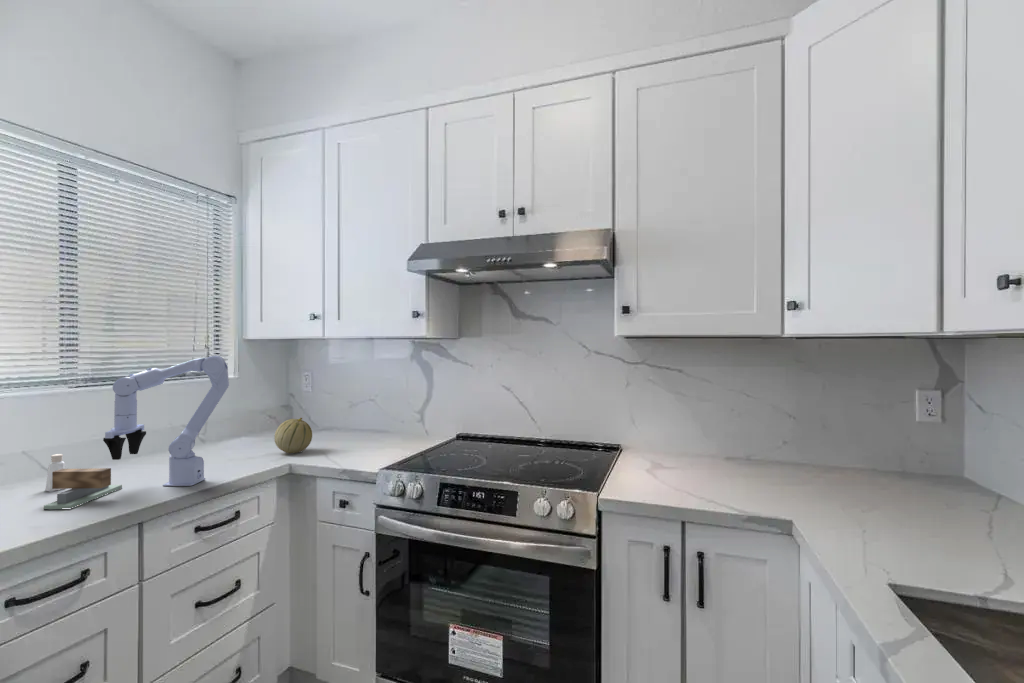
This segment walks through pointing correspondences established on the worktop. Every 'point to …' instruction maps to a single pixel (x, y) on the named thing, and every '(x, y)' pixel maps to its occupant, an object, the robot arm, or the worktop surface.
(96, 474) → the walnut bar
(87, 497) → the ridge stand
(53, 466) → the pepper shaker
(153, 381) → the robot arm
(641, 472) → the worktop surface
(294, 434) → the cantaloupe
